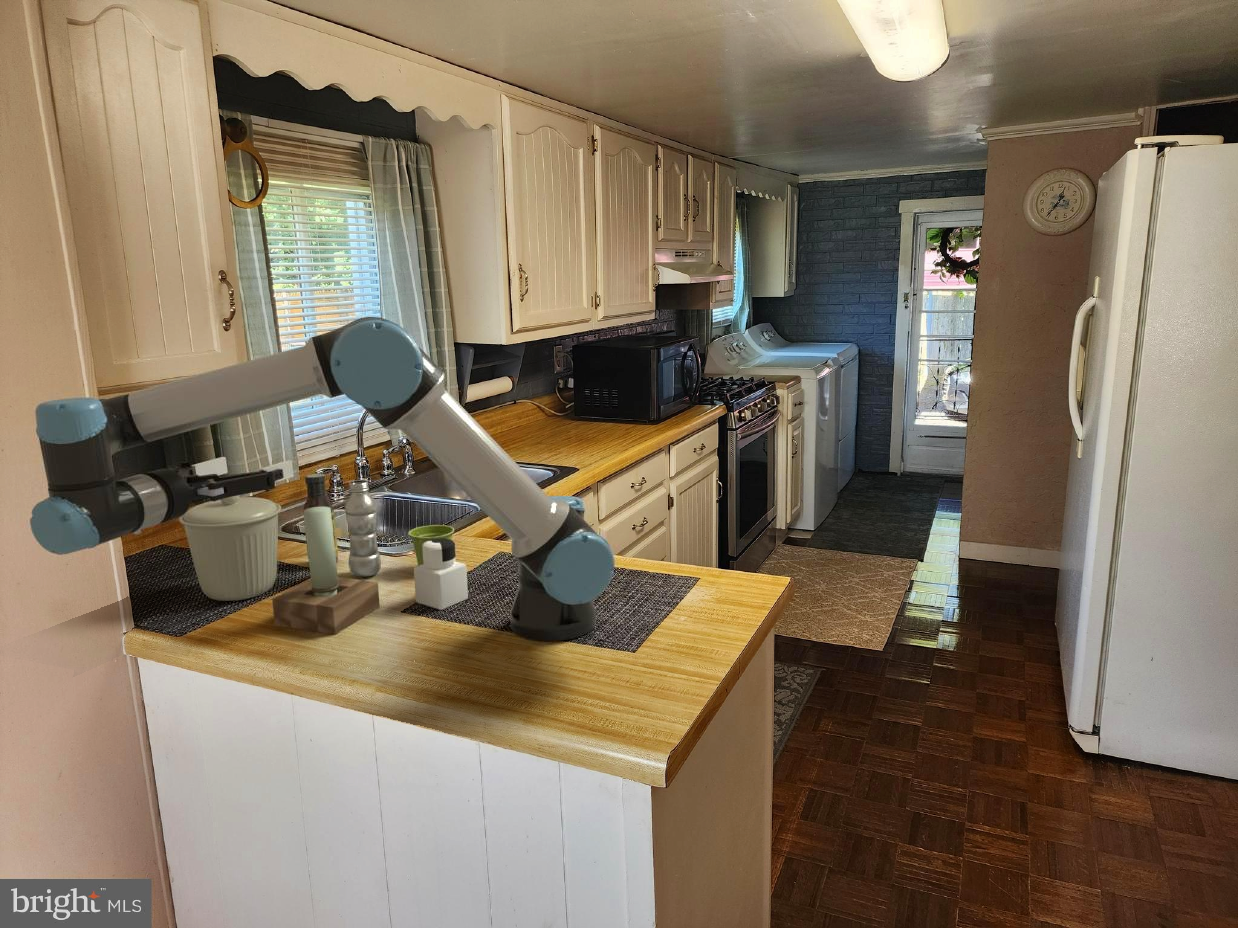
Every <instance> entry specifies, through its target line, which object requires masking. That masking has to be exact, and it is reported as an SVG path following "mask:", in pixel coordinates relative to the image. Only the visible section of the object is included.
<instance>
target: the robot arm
mask: <svg viewBox="0 0 1238 928" xmlns="http://www.w3.org/2000/svg"><path fill="white" fill-rule="evenodd" d="M445 374H446V373H445V372H444V371H443V370H442V369H441V368H440V367H439V365H437V364H436V363H435V362H434V361H433V359H431V357H429V355H428V354H427V353H426V352H425V351H424V350H423V349H422V348H421V347H420V346H419V345H418V343H417V341H416V340H415V338H414V337H413V336H412V335H411V334H410V333H409V332H408V330H406V329H405V328H403V326H400V325H399V324H397V323H395V322H393V321H391V320H388V319H386V318H381V317H377V316H365V317H361V318H357V319H355V320H352V321H351V322H348V323H347V324H345V325H342V326H340V327H339V328H336V329H333V330H330V331H327V332H324V333H321V334H318V335H314V336H310V337H309V339H307V342H306V344H305V345H303V346H299V347H295V348H292V349H289V350H284V351H281V352H278V353H273V354H269V355H266V356H262V357H259V358H258V357H257V358H255V359H252V360H248V361H244V362H240V363H236V364H232V365H229V366H224V367H222V368H217V369H213V370H209V371H207V372H202V373H200V374H195V375H192V376H187V377H184V378H180V379H177V380H173V381H169V382H165V383H162V384H158V385H155V386H150V387H147V388H143V389H139V390H135V391H132V392H130V393H125V394H121V395H117V396H113V397H109V398H99V399H97V398H94V397H71V398H70V397H69V398H61V399H54V400H49V401H44V402H41V403H39V404H38V405H37V406H36V408H35V410H34V411H35V423H36V428H35V431H36V434H37V437H38V441H39V447H40V451H41V456H42V461H43V466H44V471H45V476H46V481H47V487H48V488H47V491H48V496H49V497H47V498H44V499H43V500H41V501H39V502H37V504H35V505H34V506H33V508H32V509H31V518H30V519H29V524H30V530H31V533H32V535H33V537H34V538H35V540H36V542H37V543H38V544H39V545H40V546H41V547H42V549H45V551H47V552H49V553H51V554H55V555H63V556H64V555H68V554H72V553H75V552H79V551H82V550H86V549H93V548H96V547H97V546H100V545H103V544H104V543H107V542H110V541H113V540H116V539H118V538H121V537H124V536H127V535H129V534H133V535H140V534H142V530H143V529H147V528H150V527H154V526H156V525H159V524H164V523H166V522H169V521H173V520H176V519H178V518H180V517H181V516H182V515H184V514H185V513H186V512H187V511H188V510H189V509H190V505H191V503H199V502H200V503H201V502H203V500H208V499H209V502H210V501H217V500H220V499H224V498H227V497H233V496H238V495H239V496H243V495H247V494H252V493H257V492H262V491H265V492H266V493H267V492H270V490H273V489H276V483H278V482H282V481H284V480H289V479H290V478H294V477H295V476H294V468H293V462H292V461H293V460H291V459H288V460H285V461H281V462H278V463H275V464H272V465H268V466H265V467H262V468H259V471H249V472H243V473H234V474H229V473H228V466H227V465H228V463H227V459H226V458H227V457H226V456H221V457H217V458H212V459H210V460H206V461H203V462H199V463H196V464H191V466H190V462H189V461H183V462H180V467H181V468H180V469H179V467H178V466H174V465H173V466H171V467H169V468H159V469H155V470H152V471H147V472H144V473H142V474H140V473H139V474H135V475H132V476H129V477H126V478H122V479H118V480H116V475H115V468H114V463H113V457H112V456H113V455H114V454H116V453H117V452H120V451H123V450H126V449H130V448H134V447H137V446H141V445H144V444H147V443H148V444H149V443H150V442H154V441H157V440H161V439H164V438H165V439H166V438H168V437H171V436H176V435H178V434H182V433H186V432H190V431H193V430H197V429H199V428H200V429H201V428H204V427H207V426H211V425H215V424H219V423H221V422H222V423H223V422H226V421H229V420H230V421H231V420H233V419H237V418H240V417H244V416H246V415H247V416H248V415H251V414H255V413H258V412H261V411H265V410H268V409H273V408H276V407H280V406H283V405H284V406H285V405H286V404H290V403H293V402H298V401H301V400H304V399H305V400H306V399H308V398H311V397H316V396H319V395H323V396H325V397H327V398H329V399H333V398H336V397H339V396H344V395H345V397H347V398H348V399H349V400H351V401H353V402H355V403H356V404H357V405H360V406H361V407H362V408H363V409H364V410H365V411H366V412H367V413H368V414H369V415H370V416H371V417H372V418H373V419H375V421H376V422H377V423H378V424H380V425H381V426H382V428H383V429H385V430H400V431H402V432H403V433H404V434H405V435H406V436H407V437H408V439H409V440H411V441H412V442H413V443H414V444H415V445H416V446H417V447H418V448H419V449H420V450H421V451H422V452H423V453H424V454H425V455H426V456H427V457H428V458H429V459H430V460H431V461H432V462H433V463H434V464H435V465H436V466H437V467H438V468H439V469H440V470H441V471H442V472H443V473H444V474H445V475H446V476H447V477H448V478H449V479H450V480H451V481H452V482H453V483H454V484H455V485H456V486H457V487H458V488H459V489H460V490H461V491H462V492H463V493H465V494H466V495H467V497H468V498H470V500H472V501H473V502H474V504H475V505H476V506H477V507H478V508H480V509H481V511H483V513H485V514H486V515H487V517H489V518H490V519H491V520H492V522H494V523H495V524H496V526H498V527H499V528H500V530H502V531H503V532H504V534H506V535H507V536H508V537H509V538H510V539H511V549H510V550H511V554H512V555H513V556H514V558H516V559H517V566H518V567H517V568H518V587H517V590H516V593H515V598H514V600H513V603H512V608H511V610H510V615H509V616H510V621H509V622H510V629H511V630H512V632H513V633H514V634H516V635H517V636H519V637H521V638H524V639H527V640H531V641H532V640H533V641H539V642H557V641H566V640H571V639H576V638H579V637H582V636H584V635H587V634H588V633H590V632H591V631H593V630H594V628H595V627H596V625H597V610H596V607H595V605H594V601H593V600H594V599H596V598H597V597H598V596H600V595H601V594H602V593H603V592H604V591H605V590H606V589H607V587H608V586H609V585H610V584H611V583H610V582H611V580H612V579H613V576H614V571H615V556H614V553H613V551H612V548H611V547H610V544H609V543H608V541H607V540H606V538H604V537H602V536H601V535H599V534H598V532H596V531H595V529H594V528H593V527H591V525H590V524H589V523H588V522H587V521H586V520H585V512H586V511H585V510H586V509H585V508H584V501H583V500H582V499H581V498H580V497H577V496H573V495H572V496H571V495H570V496H569V495H552V496H551V495H549V496H548V495H547V494H546V492H545V491H544V490H543V489H542V488H541V487H540V486H539V485H538V484H537V483H536V482H535V481H534V480H533V479H532V478H531V476H529V475H528V474H527V473H526V472H525V471H524V469H522V467H521V466H520V465H518V463H517V462H516V461H515V460H514V459H513V458H512V457H511V456H510V455H509V454H508V453H507V452H506V451H505V450H504V449H503V448H502V447H501V445H499V443H498V442H497V441H495V439H493V437H492V436H491V435H489V433H488V432H487V431H486V430H485V429H484V428H483V427H482V426H481V425H480V424H479V423H478V422H477V421H476V419H474V417H473V416H471V414H470V413H469V412H468V411H467V410H466V409H465V408H464V407H463V406H462V405H461V404H460V403H459V402H458V401H457V400H456V399H455V398H454V397H453V396H452V394H451V393H450V392H448V391H447V390H446V387H445V380H446V379H445V376H446V375H445ZM225 474H227V475H225ZM210 480H213V481H212V482H210Z"/></svg>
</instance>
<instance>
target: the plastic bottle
mask: <svg viewBox="0 0 1238 928" xmlns="http://www.w3.org/2000/svg"><path fill="white" fill-rule="evenodd" d="M348 486H349V488H348V490H349V492H350V495H349V497H348V498H347V500H346V502H345V504H344V508H343V509H344V513H345V519H346V522H347V526H348V527H347V528H348V533H349V534H348V535H349V555H348V568H349V572H350V573H351V574H352V575H353V576H354V577H359V578H363V577H371V576H375V575H377V574H378V573H379V572H380V570H381V569H382V568H381V567H382V560H381V554H380V551H379V547H378V546H379V545H378V541H377V532H376V531H377V512H378V505H377V502H376V500H375V499H374V497H373V496H372V495H371V494H370V493H369V491H370V488H369V482H368V480H366V479H358V480H357V479H356V480H351V481H349V485H348Z"/></svg>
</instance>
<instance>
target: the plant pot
mask: <svg viewBox="0 0 1238 928" xmlns="http://www.w3.org/2000/svg"><path fill="white" fill-rule="evenodd" d="M454 533H455V528H454V527H452V526H449V525H445V524H443V525H442V524H432V525H423V526H417V527H415V528H413V529H411V530H409V531H408V533H407V534H408V536H409V537H410V539H411V542H412V544H413V548H414V552H415V556H416V562H417V566H420V565H422V564H424V563H423V549H422V545H423V544H424V543H425V542H426V541H428V540H431V539H436V538H446V539H450V540H452V538H453V534H454Z"/></svg>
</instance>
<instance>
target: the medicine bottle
mask: <svg viewBox="0 0 1238 928" xmlns="http://www.w3.org/2000/svg"><path fill="white" fill-rule="evenodd" d="M422 549H423V563H424V564H422V565H420V566H418V565H417V566H415V567H414V568H413V580H414V581H413V582H414V593H415V602H416V603H417V604H420V605H423V606H426V607H430V608H433V609H436V610H439V611H442V610H445V609H448V608H449V607H451V606H454V605H457V604H459V603H462V602H463V601H466V600H467V599H469V594H468V593H469V592H468V591H469V590H468V573H467V564H466V563H463V562H460V561H457V559H456V558H457V557H456V556H457V555H456V543H455V541H454V540H452V539H451V540H450V539H446V538H436V539H431V540H428V541H426V542H425V543H424V544H423V545H422Z"/></svg>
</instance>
